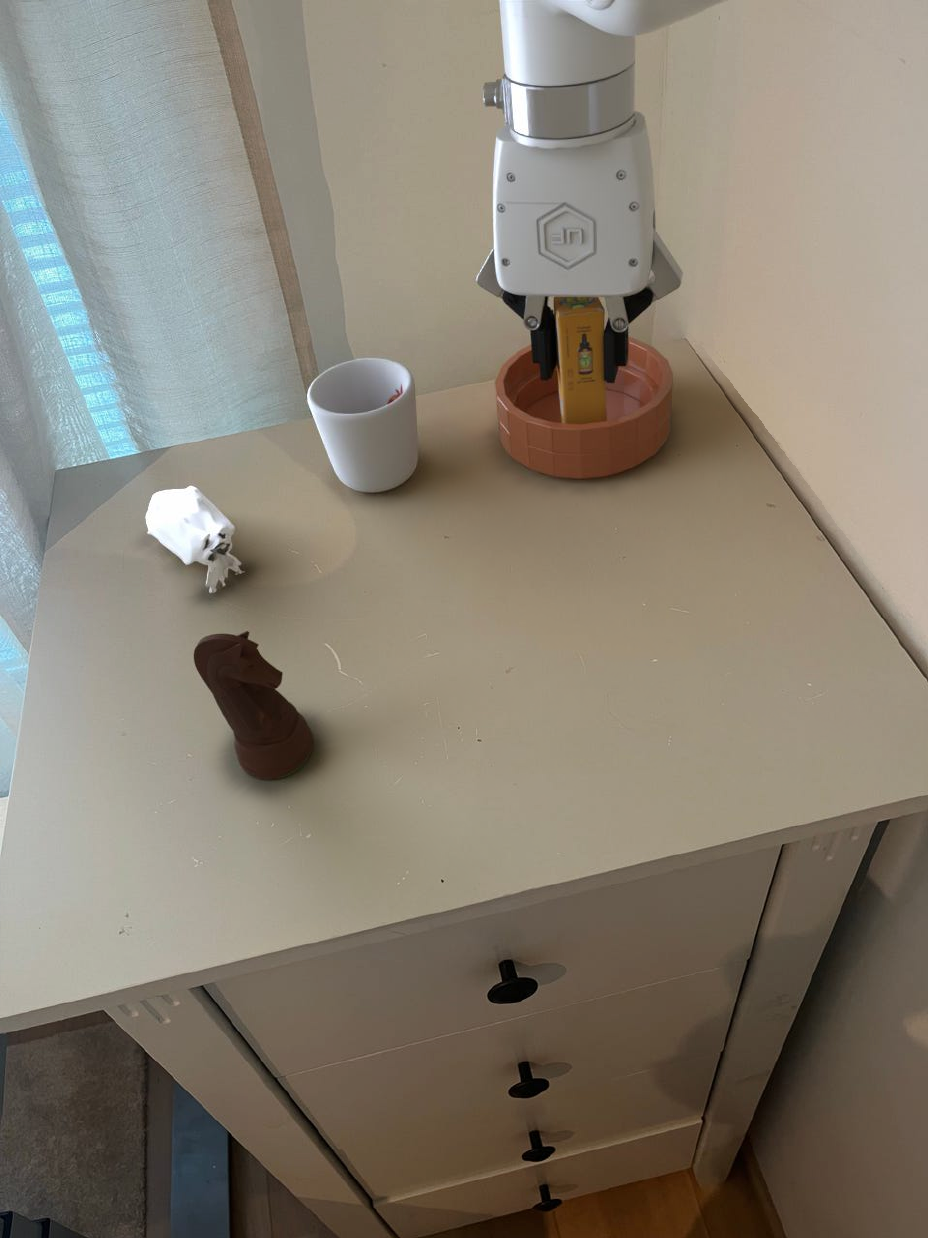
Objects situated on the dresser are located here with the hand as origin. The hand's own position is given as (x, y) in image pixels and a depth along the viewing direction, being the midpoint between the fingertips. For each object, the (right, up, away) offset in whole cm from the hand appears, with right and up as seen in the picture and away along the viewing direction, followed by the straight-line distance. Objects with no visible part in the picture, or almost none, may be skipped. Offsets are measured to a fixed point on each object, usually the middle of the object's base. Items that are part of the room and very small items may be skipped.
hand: (580, 369), depth 70 cm
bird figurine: (-28, -13, +2) cm, 31 cm away
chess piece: (-20, -26, -12) cm, 35 cm away
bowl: (+1, -3, +7) cm, 8 cm away
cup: (-16, -6, +7) cm, 18 cm away
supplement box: (+1, -3, +3) cm, 5 cm away
